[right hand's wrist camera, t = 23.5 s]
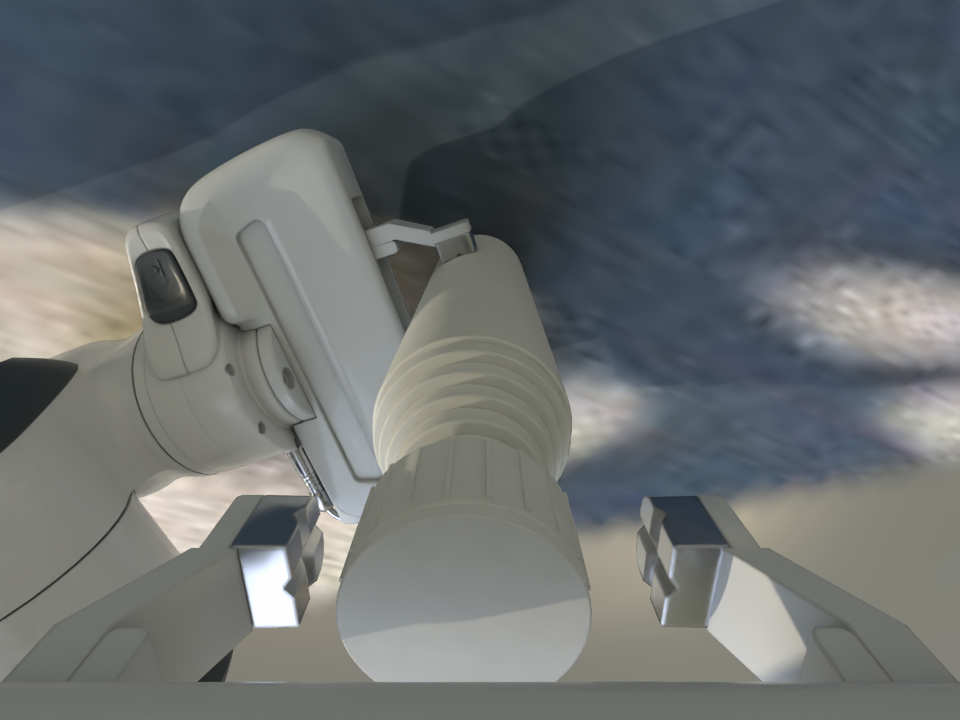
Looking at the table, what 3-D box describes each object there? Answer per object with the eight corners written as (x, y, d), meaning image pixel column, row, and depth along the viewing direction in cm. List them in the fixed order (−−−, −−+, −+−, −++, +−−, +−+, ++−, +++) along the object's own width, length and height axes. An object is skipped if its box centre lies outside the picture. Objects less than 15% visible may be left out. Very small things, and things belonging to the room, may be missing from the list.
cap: (359, 430, 10) (323, 508, 8) (581, 438, 10) (610, 518, 8) (368, 601, 11) (341, 708, 9) (562, 608, 11) (580, 716, 9)
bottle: (448, 331, 33) (367, 722, 10) (423, 247, 31) (254, 494, 8) (532, 310, 33) (646, 672, 10) (511, 223, 31) (593, 416, 8)
